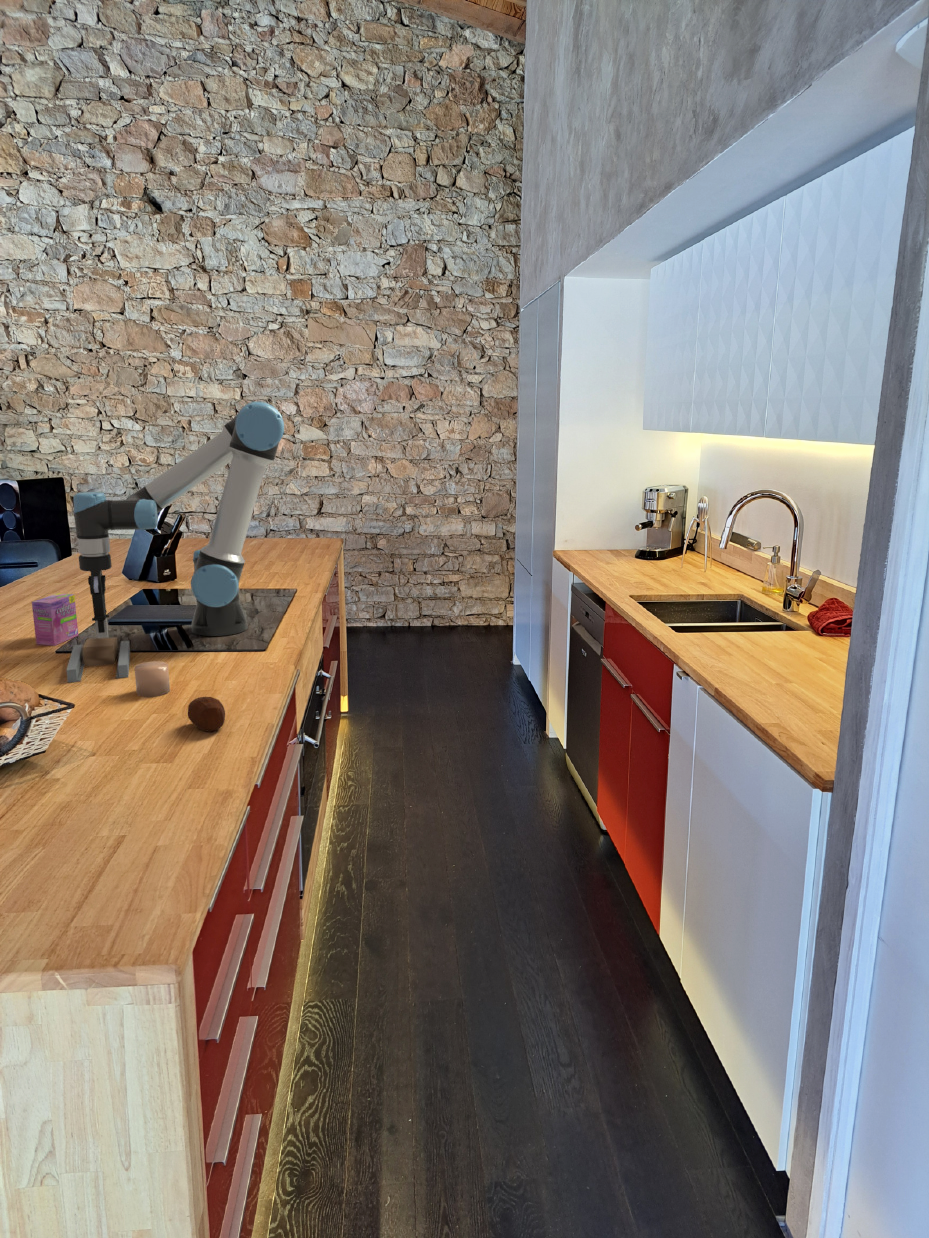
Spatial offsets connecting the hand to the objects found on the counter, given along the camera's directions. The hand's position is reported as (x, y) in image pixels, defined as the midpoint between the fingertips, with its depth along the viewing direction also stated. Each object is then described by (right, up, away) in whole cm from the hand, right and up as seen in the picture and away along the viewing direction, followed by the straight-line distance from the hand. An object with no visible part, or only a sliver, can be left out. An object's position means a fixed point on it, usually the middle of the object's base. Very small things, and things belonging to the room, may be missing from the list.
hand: (103, 643), depth 226 cm
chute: (+5, -5, -14) cm, 16 cm away
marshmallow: (+25, -10, -33) cm, 42 cm away
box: (-16, 0, +8) cm, 18 cm away
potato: (+43, -15, -53) cm, 70 cm away
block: (+4, -4, -10) cm, 11 cm away
